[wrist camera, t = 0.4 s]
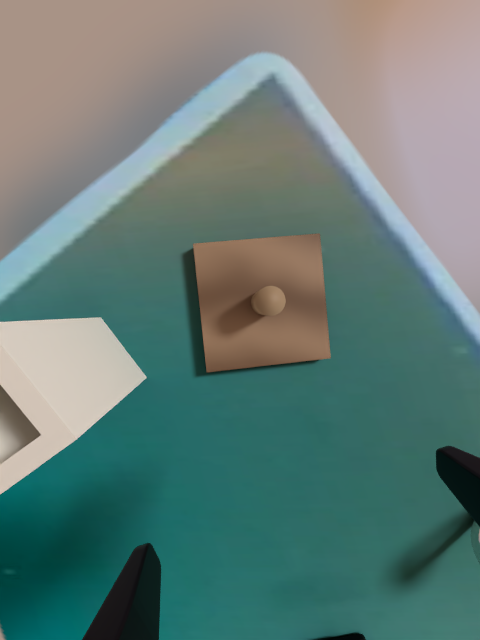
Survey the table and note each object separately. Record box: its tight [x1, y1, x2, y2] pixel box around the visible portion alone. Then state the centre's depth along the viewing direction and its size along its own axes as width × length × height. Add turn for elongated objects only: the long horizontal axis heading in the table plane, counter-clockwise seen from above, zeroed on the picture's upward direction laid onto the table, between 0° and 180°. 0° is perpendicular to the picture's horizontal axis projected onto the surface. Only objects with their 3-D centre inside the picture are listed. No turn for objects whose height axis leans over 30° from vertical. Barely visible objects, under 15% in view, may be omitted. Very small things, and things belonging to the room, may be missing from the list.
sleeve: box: [0, 317, 147, 494], centre depth 15 cm, size 6×6×10 cm
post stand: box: [193, 234, 331, 372], centre depth 19 cm, size 10×10×4 cm
